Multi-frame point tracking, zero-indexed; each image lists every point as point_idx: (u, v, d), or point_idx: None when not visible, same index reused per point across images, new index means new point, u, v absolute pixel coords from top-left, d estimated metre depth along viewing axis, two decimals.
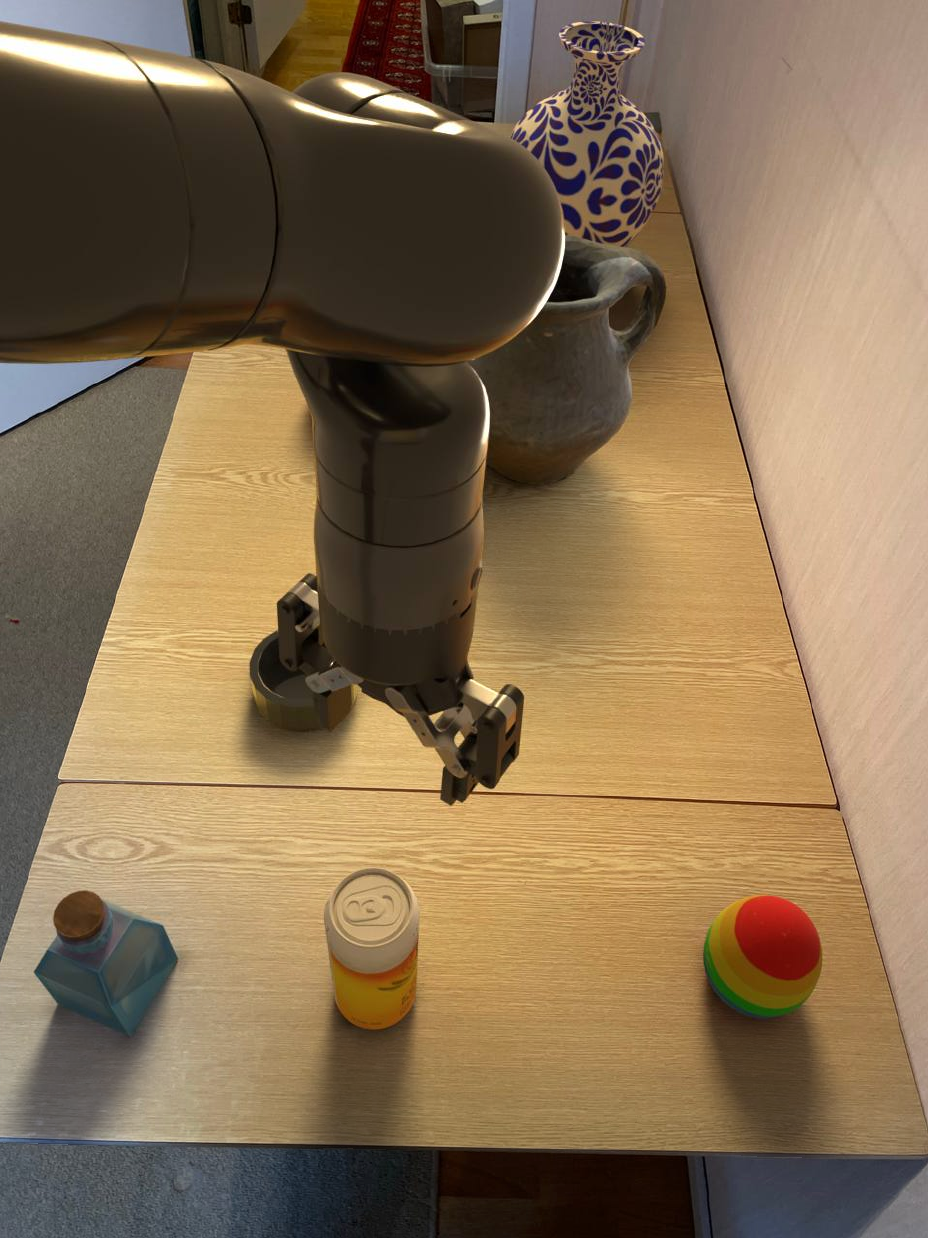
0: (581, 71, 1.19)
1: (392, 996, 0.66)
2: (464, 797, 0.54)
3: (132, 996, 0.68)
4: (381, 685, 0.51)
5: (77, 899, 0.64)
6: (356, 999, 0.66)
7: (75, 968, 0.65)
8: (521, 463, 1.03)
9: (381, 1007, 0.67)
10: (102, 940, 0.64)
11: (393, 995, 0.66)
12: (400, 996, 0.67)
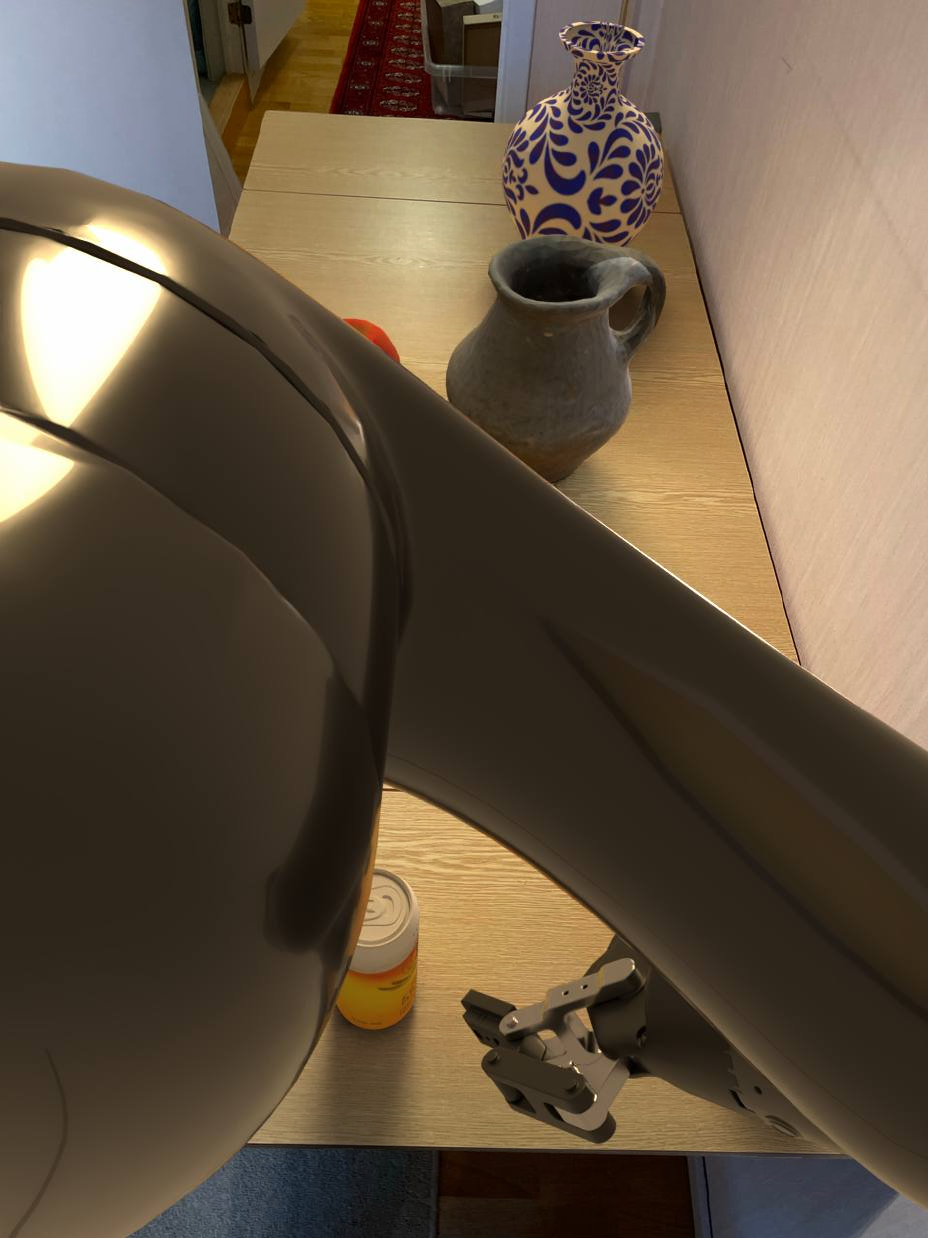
0: (581, 70, 1.19)
1: (392, 996, 0.66)
2: (469, 1021, 0.45)
3: None
4: (632, 953, 0.42)
5: None
6: (356, 999, 0.66)
7: None
8: None
9: (381, 1007, 0.67)
10: None
11: (393, 995, 0.66)
12: (400, 996, 0.67)
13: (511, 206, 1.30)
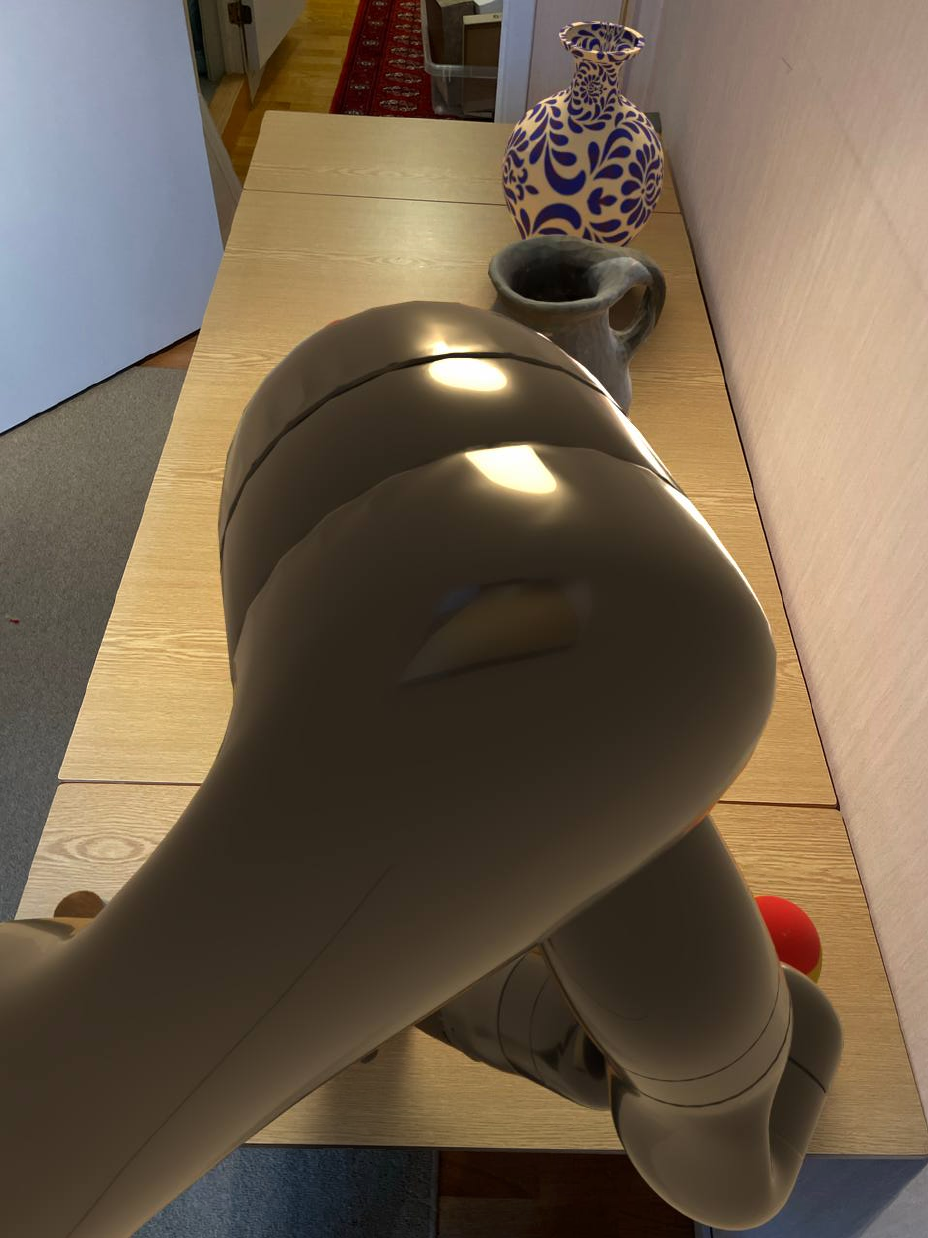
0: (581, 70, 1.19)
1: None
2: None
3: None
4: None
5: (77, 899, 0.64)
6: None
7: None
8: None
9: None
10: None
11: None
12: None
13: (511, 206, 1.30)
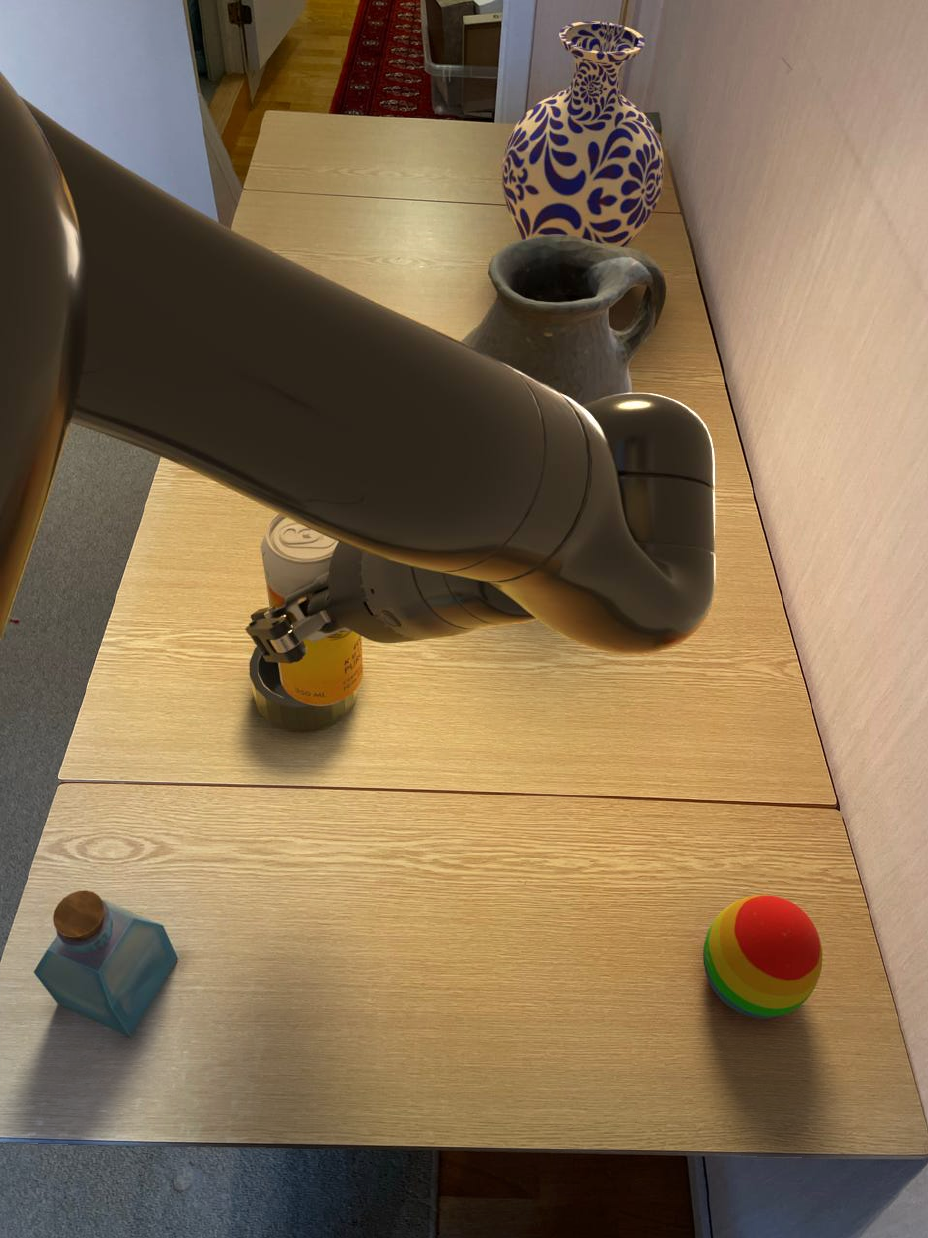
0: (581, 71, 1.19)
1: (333, 651, 0.66)
2: None
3: (132, 996, 0.68)
4: None
5: (77, 899, 0.64)
6: None
7: (75, 968, 0.65)
8: None
9: (323, 665, 0.67)
10: (102, 940, 0.64)
11: (334, 648, 0.66)
12: (342, 656, 0.67)
13: (511, 206, 1.30)
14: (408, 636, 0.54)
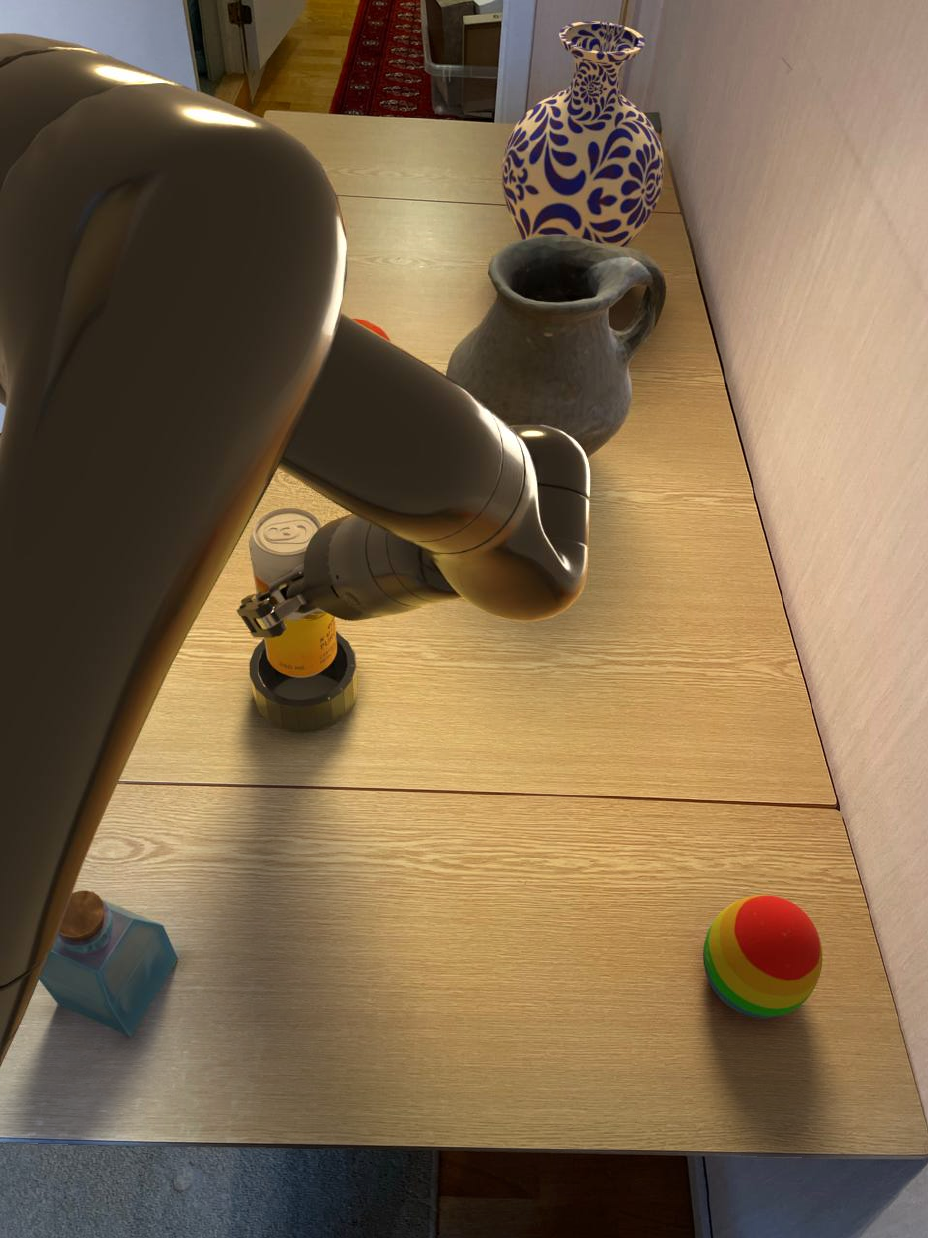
0: (581, 71, 1.19)
1: (310, 629, 0.79)
2: None
3: (132, 996, 0.68)
4: None
5: (77, 899, 0.64)
6: None
7: (75, 968, 0.65)
8: None
9: (302, 642, 0.80)
10: (102, 940, 0.64)
11: (311, 627, 0.79)
12: (318, 634, 0.80)
13: (511, 206, 1.30)
14: (367, 613, 0.67)
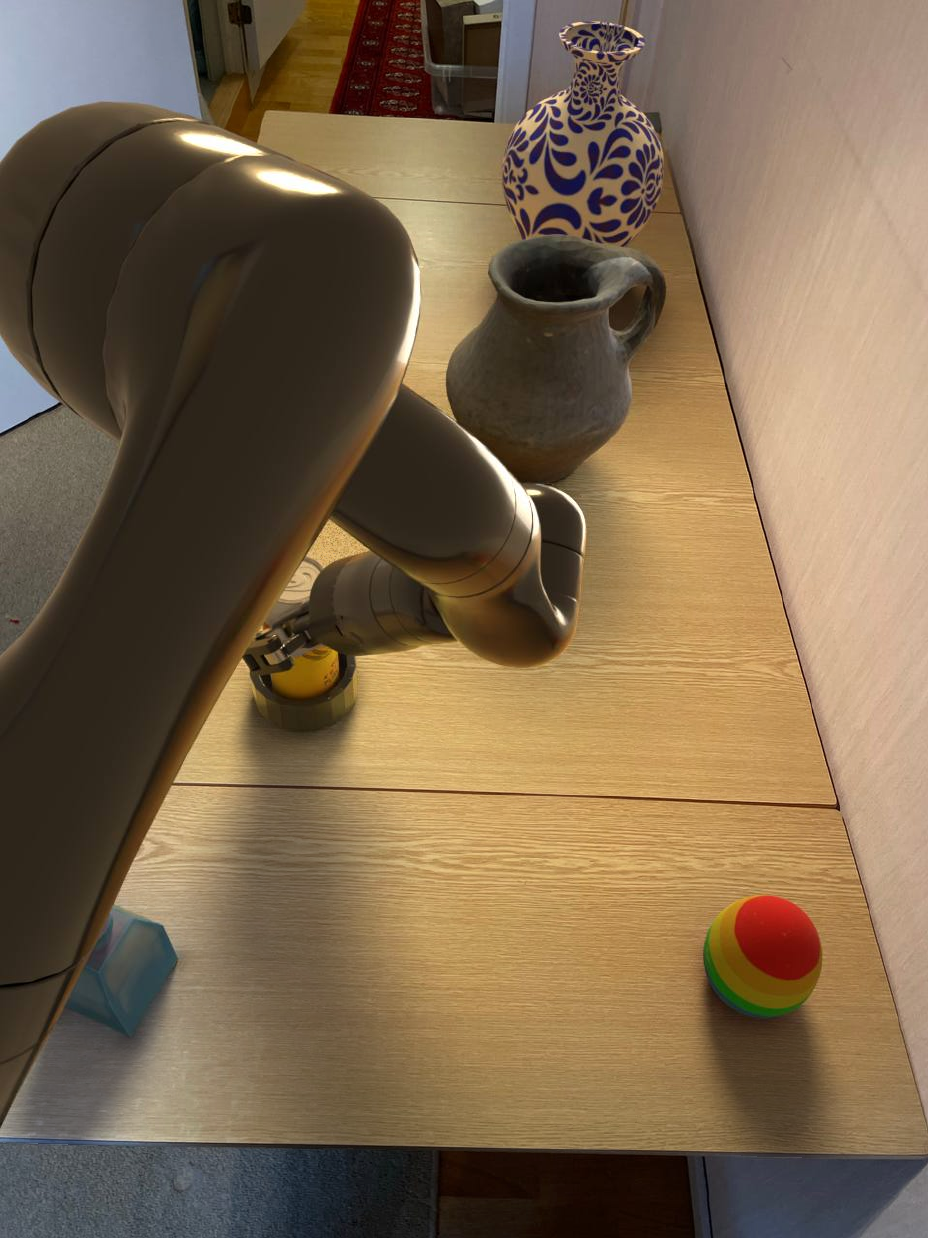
0: (581, 71, 1.19)
1: (315, 669, 0.83)
2: None
3: (132, 996, 0.68)
4: None
5: None
6: None
7: None
8: (521, 463, 1.03)
9: (306, 680, 0.84)
10: (102, 940, 0.64)
11: (315, 667, 0.83)
12: (322, 672, 0.84)
13: (511, 206, 1.30)
14: (370, 651, 0.70)
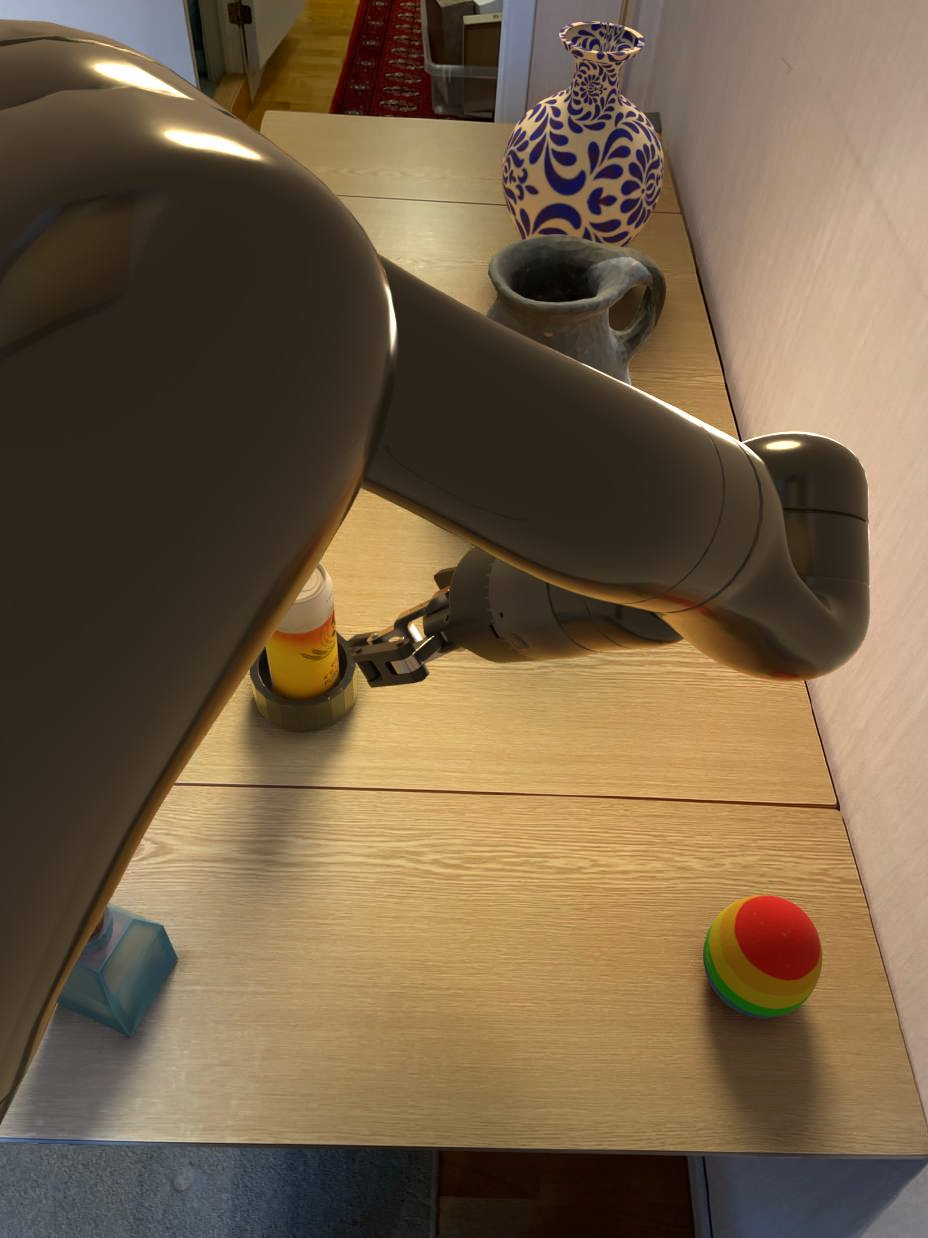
0: (581, 71, 1.19)
1: (315, 669, 0.83)
2: (351, 649, 0.66)
3: (132, 996, 0.68)
4: None
5: None
6: (285, 670, 0.83)
7: (75, 968, 0.65)
8: None
9: (306, 680, 0.84)
10: (102, 940, 0.64)
11: (315, 667, 0.83)
12: (322, 672, 0.84)
13: (511, 206, 1.30)
14: (532, 657, 0.55)
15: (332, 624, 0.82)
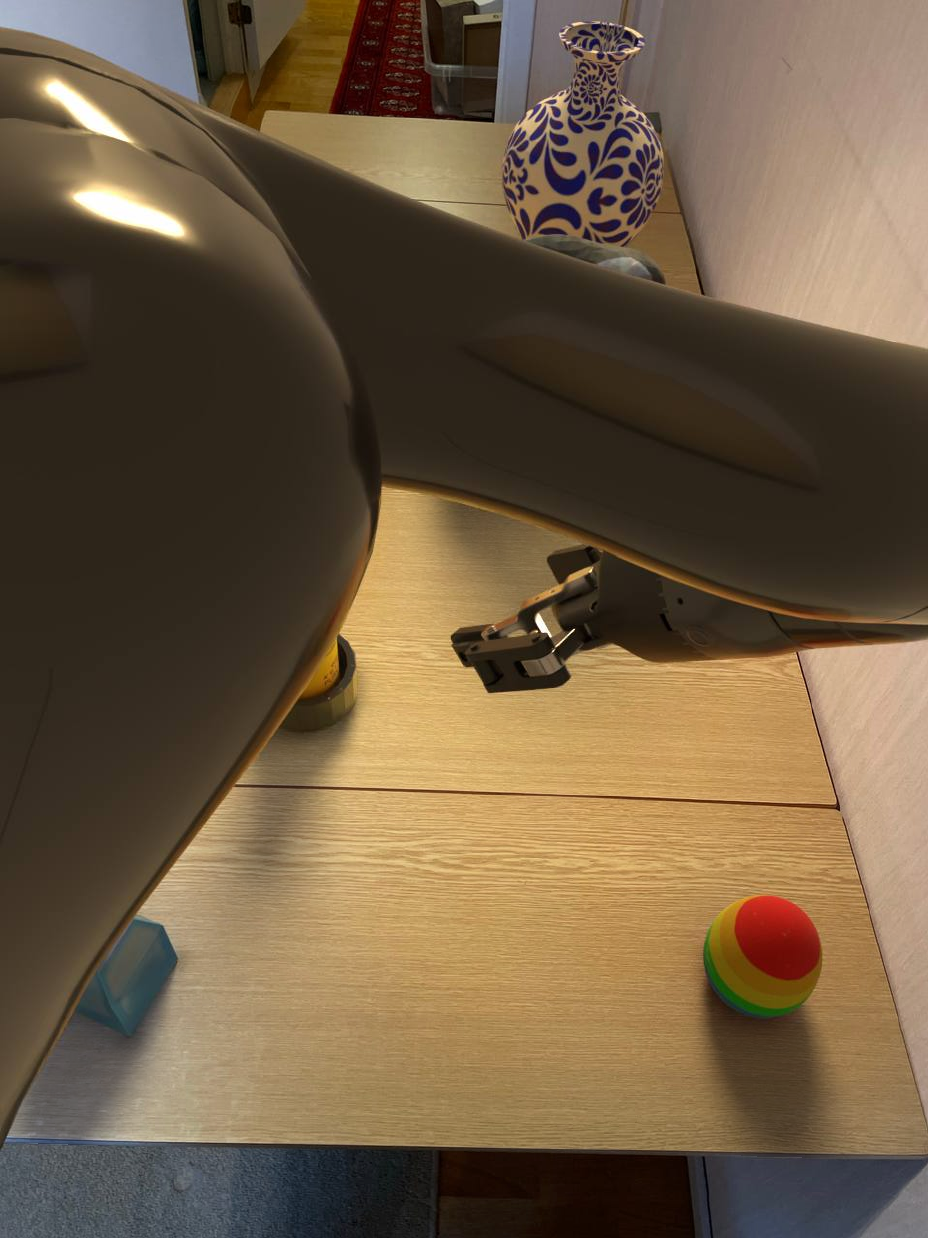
0: (581, 71, 1.19)
1: None
2: (456, 645, 0.54)
3: (132, 996, 0.68)
4: None
5: None
6: None
7: None
8: None
9: None
10: None
11: None
12: (322, 672, 0.84)
13: (511, 206, 1.30)
14: (712, 656, 0.43)
15: None
